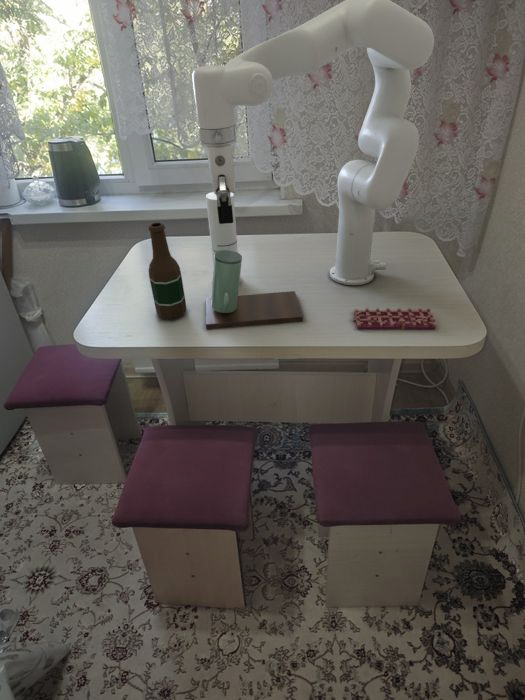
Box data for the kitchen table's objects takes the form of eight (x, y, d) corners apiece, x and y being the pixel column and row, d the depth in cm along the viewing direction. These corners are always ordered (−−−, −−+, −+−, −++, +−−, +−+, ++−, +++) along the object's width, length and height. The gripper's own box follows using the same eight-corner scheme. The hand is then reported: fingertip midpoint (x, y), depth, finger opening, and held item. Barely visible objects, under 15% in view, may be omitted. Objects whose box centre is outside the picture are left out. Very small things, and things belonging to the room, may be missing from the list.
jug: (236, 300, 120) (241, 251, 112) (238, 319, 112) (243, 267, 104) (211, 299, 119) (214, 249, 111) (211, 317, 111) (214, 265, 103)
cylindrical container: (236, 288, 128) (229, 200, 113) (212, 287, 129) (202, 199, 114) (242, 277, 134) (236, 191, 119) (219, 275, 135) (210, 190, 120)
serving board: (294, 295, 124) (294, 291, 123) (302, 321, 113) (302, 316, 112) (206, 302, 122) (206, 298, 121) (206, 329, 112) (205, 324, 111)
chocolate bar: (351, 313, 115) (352, 306, 114) (427, 313, 114) (429, 306, 113) (354, 329, 110) (355, 322, 108) (435, 329, 108) (436, 322, 107)
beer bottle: (173, 324, 114) (157, 233, 100) (150, 316, 118) (131, 227, 103) (193, 310, 119) (180, 221, 105) (170, 302, 123) (155, 216, 109)
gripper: (237, 143, 88) (244, 228, 98) (233, 125, 102) (239, 201, 112) (199, 146, 88) (209, 231, 98) (199, 128, 102) (209, 204, 112)
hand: (225, 215), depth 105 cm, fingers open, 9 cm apart
